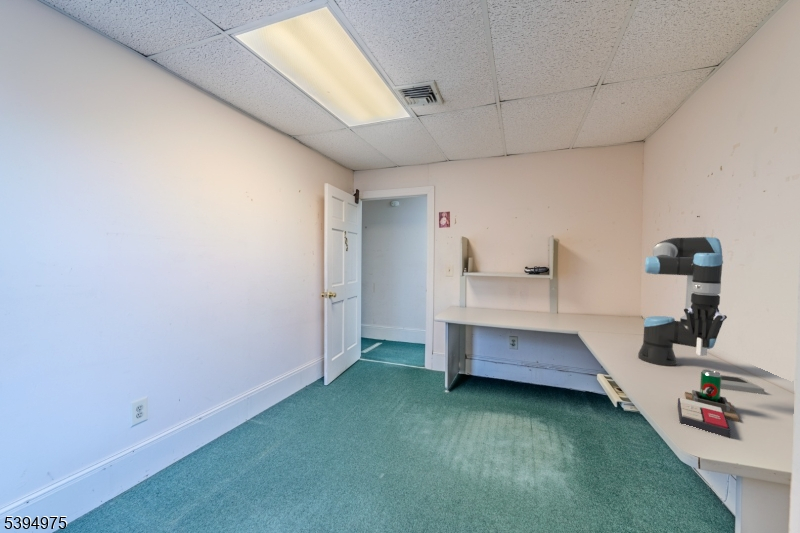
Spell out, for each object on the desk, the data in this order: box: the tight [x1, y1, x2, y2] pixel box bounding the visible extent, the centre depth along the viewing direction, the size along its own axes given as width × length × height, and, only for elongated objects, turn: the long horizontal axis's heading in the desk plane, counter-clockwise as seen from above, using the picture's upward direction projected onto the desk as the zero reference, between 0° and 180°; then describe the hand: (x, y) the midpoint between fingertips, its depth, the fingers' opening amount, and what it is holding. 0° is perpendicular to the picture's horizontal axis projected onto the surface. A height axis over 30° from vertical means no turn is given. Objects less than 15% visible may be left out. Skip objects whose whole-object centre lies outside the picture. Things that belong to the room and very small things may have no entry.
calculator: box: [677, 397, 731, 439], centre depth 97 cm, size 11×4×15 cm
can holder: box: [684, 389, 740, 423], centre depth 106 cm, size 15×12×3 cm
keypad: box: [720, 374, 765, 395], centre depth 124 cm, size 10×4×15 cm
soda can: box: [699, 369, 722, 403], centre depth 106 cm, size 5×5×12 cm
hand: (701, 354), depth 112 cm, fingers closed
